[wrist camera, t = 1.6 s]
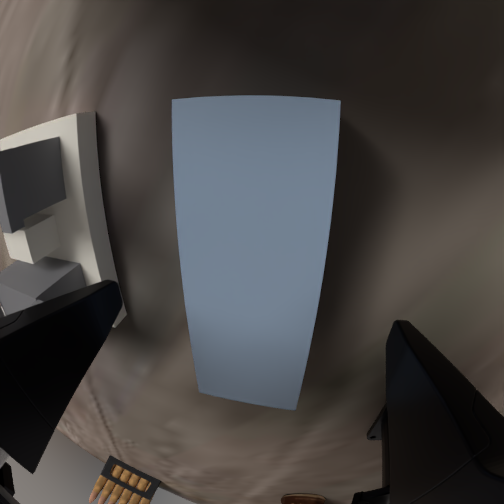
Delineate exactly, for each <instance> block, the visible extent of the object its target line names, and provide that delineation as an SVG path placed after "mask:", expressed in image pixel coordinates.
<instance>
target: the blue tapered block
mask: <svg viewBox="0 0 504 504" xmlns="http://www.w3.org/2000/svg"><path fill="white" fill-rule="evenodd" d="M340 103H341V101H339V100H330V99H320V98H308V97H292V96H263V95H240V96H211V97H195V98H183V99H173V100H172V148H173V173H174V192H175V208H176V221H177V233H178V244H179V255H180V264H181V274H182V282H183V291H184V299H185V306H186V314H187V321H188V328H189V335H190V341H191V347H192V354H193V360H194V365H195V371H196V377H197V382H198V388H199V392H200V393H204V394H208V395H212V396H217V397H221V398H226V399H230V400H235V401H240V402H245V403H250V404H256V405H261V406H267V407H274V408H280V409H287V410H296V406H297V402H298V398H299V394H300V390H301V386H302V382H303V377H304V373H305V368H306V364H307V359H308V355H309V350H310V345H311V340H312V335H313V330H314V325H315V320H316V314H317V309H318V303H319V298H320V292H321V286H322V280H323V273H324V267H325V260H326V253H327V246H328V239H329V231H330V224H331V215H332V207H333V198H334V188H335V178H336V166H337V154H338V140H339V124H340Z"/></svg>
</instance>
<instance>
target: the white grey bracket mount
mask: <svg viewBox="0 0 504 504" xmlns="http://www.w3.org/2000/svg"><path fill="white" fill-rule="evenodd" d="M0 148H1V151H0V224H1V228H2V232H3V233H4V237H5V241H6V244H7V248H8V251H9V255H10V258H13V259H17V261H16V262H14V263H13V264H11V265H10V266H8V267H7V268H5V269H4V270H2V271H1V272H0V303H1V306H2V308H3V310H4V312H5V315H9V314H12V313H15V312H17V311H20V310H23V309H24V310H25V309H26V308H28V307H31V306H34V305H36V304H39V303H42V302H45V301H47V300H50V299H53V298H56V297H58V296H61V295H64V294H67V293H70V292H72V291H75V290H78V289H81V288H84V287H87V286H89V285H92V284H95V283H98V282H101V281H104V280H113V281H116V282H117V283H118V278H117V274H116V270H115V265H114V261H113V256H112V251H111V246H110V241H109V235H108V230H107V224H106V218H105V212H104V205H103V198H102V190H101V182H100V173H99V163H98V152H97V137H96V115H95V112H85V113H76V114H73V115H69V116H65V117H62V118H59V119H55V120H52V121H49V122H46V123H43V124H40V125H37V126H34V127H31V128H29V129H26V130H23V131H20V132H18V133H15V134H13V135H10V136H8V137H5V138H3V139H0ZM118 284H119V283H118ZM119 288H120V287H119ZM120 292H121V291H120ZM121 296H122V295H121ZM122 299H123V298H122ZM1 306H0V317H3V316H5V315H4V313H3V310H2V308H1ZM126 315H127V313H126V310H125V306H124V302H123V306H122V309H121V310H120V312H119V314H118V316H117V318H116V320H115V322H114V324H113V326H112V327H114V328H116V326H117V325H118V324H119V323H120V322H121V321H122V320H123V318H124V317H125V316H126Z"/></svg>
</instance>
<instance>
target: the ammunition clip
mask: <svg viewBox="0 0 504 504" xmlns="http://www.w3.org/2000/svg"><path fill="white" fill-rule="evenodd" d="M115 466H116V467H115ZM114 468H115V469H114ZM112 471H113V472H112ZM111 473H112V474H111ZM121 474H122V475H121ZM131 475H132V476H131ZM120 476H121V477H120ZM130 477H131V478H130ZM119 478H120V479H119ZM129 479H130V480H129ZM107 480H108V481H107ZM139 480H140V481H139ZM128 481H129V482H128ZM106 482H107V483H106ZM138 482H139V483H138ZM160 482H161V481H160V480H158V479H156V478H154V477H151V476H149V475H147V474H145V473H143V472H141V471H139V470H137V469H135V468H133V467H131V466H129V465H127V464H125V463H123V462H122V461H120V460H118V459H116V458H114V457H113V456H109V458H108V460H107V462H106V464H105V466H104V468H103V470H102V473H101V475H100V477H99V478H98V480H97V482H96V484H95V486H94V489H93V492H92V493H91V496H90V499H89V503H91V502H92V501H94V500H95V499H96V497H97V496H98V494H99V492H100V491H101V490H102V489H103V487H104V485H105V484H106V485H105V487H104V489H103V492H102V494H101V497H100V499H99V501H98V504H104V503H105V501H106V499H107V498H108V496H109V495H110V494H111V493H112V494H111V498H110V500H109V502H108V504H115V503H116V502H117V500H118V499H119V498H120V501H119V503H118V504H127V503H128V502H129V500H130V498H131V496H132V494H133V496H132V498H131V500H130V502H129V504H139V502H140V500H141V502H140V504H150V502H151V500H152V497H153V495H154V493H155V491H156V489H157V488H158V486H159V484H160ZM127 483H128V484H127ZM137 484H138V485H137ZM148 484H149V485H148ZM115 485H116V486H115ZM136 486H137V487H136ZM147 486H148V487H147ZM114 487H115V488H114ZM146 488H147V489H146ZM113 489H114V490H113ZM124 489H125V490H124ZM123 490H124V492H123ZM145 490H146V491H145ZM112 491H113V492H112ZM122 492H123V494H122ZM121 494H122V495H121ZM120 496H121V497H120ZM141 498H142V499H141Z"/></svg>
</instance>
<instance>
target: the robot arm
mask: <svg viewBox="0 0 504 504" xmlns="http://www.w3.org/2000/svg"><path fill="white" fill-rule="evenodd" d="M122 306H123V299H122V296H121V292H120V288H119V284H118V283H117V282H116V281H113V280H104V281H101V282H98V283H95V284H92V285H89V286H87V287H84V288H81V289H78V290H75V291H72V292H70V293H67V294H64V295H61V296H58V297H56V298H53V299H50V300H47V301H45V302H42V303H39V304H36V305H34V306H31V307H28V308H26V309H25V310H24V309H23V310H20V311H17V312H15V313H12V314H9V315H6V316H3V317H0V504H20V503H19V502H18V501H17V500H15V499H14V498H13V495H14V494H15V491H14V485H13V478H12V471H11V466H10V465H9V464H8V463H7V462H6V460H7V459H8V457H9V456H11V457H12V458H13V459H14V460H15V461H17V462H18V463H19V464H20V465H22V466H23V467H24V468H25V469H27V470H28V471H29V472H30V473H32V474H33V473H34V472H35V470H36V468H37V466H38V464H39V462H40V459H41V457H42V455H43V453H44V451H45V449H46V447H47V445H48V442H49V441H50V439H51V436H52V434H53V432H54V430H55V428H56V426H57V424H58V422H59V420H60V419H61V417H62V415H63V413H64V411H65V409H66V407H67V405H68V404H69V402H70V400H71V398H72V396H73V395H74V393H75V391H76V389H77V387H78V386H79V384H80V382H81V380H82V379H83V377H84V375H85V374H86V372H87V370H88V368H89V367H90V365H91V363H92V362H93V360H94V358H95V357H96V355H97V353H98V352H99V350H100V348H101V347H102V345H103V343H104V342H105V340H106V338H107V336H108V334H109V332H110V330H111V328H112V326H113V324H114V322H115V320H116V318H117V316H118V314H119V312H120V310H121V309H122ZM386 400H387V402H386V404H385V406H384V407H383V409H382V411H381V412H380V414H379V416H378V417H377V419H376V420H375V422H374V423H373V425H372V427H371V428H370V430H369V431H368V433H367V439H368V440H382V488H380V489H376V490H371V491H367V492H363V491H362V492H358V493H355V494H354V497H353V501H352V503H351V504H504V417H503V416H502V415H501V414H500V413H499V412H498V411H497V410H496V409H495V408H494V407H493V406H492V405H491V404H490V403H489V402H488V401H487V400H486V399H485V398H484V397H483V395H482V394H481V393H480V392H479V391H478V390H477V391H476V388H475V387H474V386H473V385H472V384H471V383H470V382H469V381H468V380H467V379H466V378H465V377H464V375H463V374H462V373H461V372H460V371H459V370H458V369H457V368H456V367H455V366H454V365H453V364H452V363H451V362H450V361H449V360H448V359H447V358H446V357H445V356H444V355H443V354H442V353H441V352H440V351H439V350H438V349H437V348H436V347H435V346H434V345H433V344H432V343H431V342H430V341H429V340H428V339H427V338H426V337H425V336H424V335H422V334H421V333H420V332H419V331H418V330H417V329H416V328H415V327H414V326H413V325H412V324H411V323H410V322H409V321H407V320H396V321H394V323H393V325H392V328H391V331H390V334H389V336H388V339H387V342H386Z"/></svg>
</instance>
